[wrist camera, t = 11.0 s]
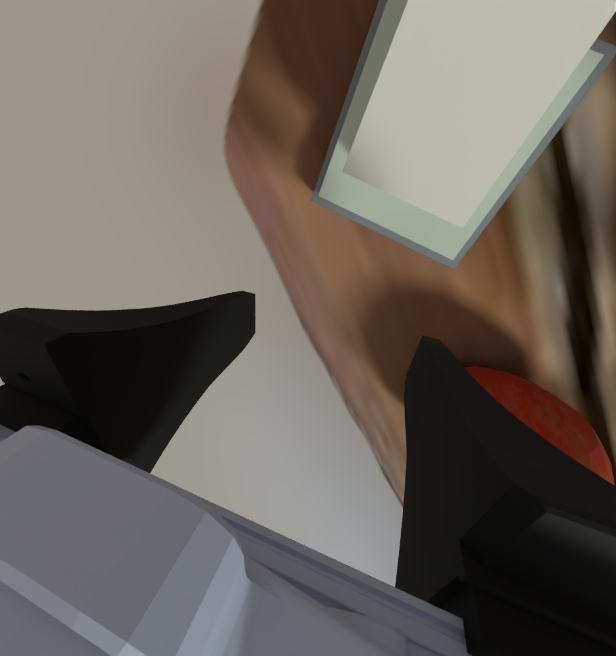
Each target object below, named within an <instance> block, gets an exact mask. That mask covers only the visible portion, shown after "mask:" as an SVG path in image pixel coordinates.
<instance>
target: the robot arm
mask: <svg viewBox="0 0 616 656" xmlns="http://www.w3.org/2000/svg"><path fill="white" fill-rule="evenodd" d="M254 334H255V294H253V293H249V292H245V291H238V292H232V293H227V294H222V295H218V296H213V297H209V298H204V299H200V300H195V301H190V302H185V303H179V304H174V305H168V306H161V307H153V308H143V309H127V310H109V311H108V310H106V311H105V310H104V311H83V310H79V311H77V310H55V309H38V308H37V309H36V308H18V309H13V310H10V311H7V312H4V313H1V314H0V378H1V379H2V381H3V382H4V383H5V384H4V385H2V386H0V656H616V486H615V485H613V484H612V483H610V482H608V481H607V480H605V479H604V478H602V477H601V476H599V475H598V474H596V473H594V472H593V471H591V470H590V469H588V468H587V467H585V466H584V465H582V464H581V463H579V462H577V461H576V460H574V459H573V458H571V457H570V456H569V455H567V454H566V453H564V452H563V451H561V450H560V449H558V448H557V447H555V446H554V445H553V444H551V443H550V442H549V441H547V440H546V439H545V438H543V437H542V436H540V435H539V434H538V433H536V432H535V431H534V430H532V429H531V428H530V427H528V426H527V425H526V424H525V423H523V422H522V421H521V420H519V419H518V418H517V417H516V416H515V415H513V414H512V413H511V412H510V411H509V410H507V409H506V408H505V407H504V406H503V405H502V404H500V403H499V402H498V401H497V400H496V399H495V398H494V397H493V396H492V395H490V394H489V393H488V392H487V391H486V390H485V389H484V388H483V387H482V386H481V385H480V384H479V383H478V382H477V381H476V380H475V379H474V378H473V377H472V375H471V374H470V373H469V372H468V371H467V370H466V369H465V368H464V367H463V366H462V365H461V363H460V362H459V361H458V360H457V359H456V358H455V357H454V355H453V354H452V353H451V352H450V351H449V350H448V349H447V347H446V346H445V345H444V344H443V343H442V342H441V341H440V340H438V339H434V338H430V337H426V336H422V338H421V341H420V343H419V345H418V348H417V350H416V353H415V355H414V358H413V360H412V363H411V365H410V367H409V370H408V372H407V375H406V382H405V392H404V407H405V427H406V446H407V462H406V478H405V493H404V506H403V518H402V528H401V539H400V550H399V558H398V567H397V576H396V584H395V587H393V586H391V585H389V584H386V583H384V582H382V581H380V580H378V579H376V578H373V577H371V576H369V575H367V574H365V573H362V572H360V571H358V570H356V569H354V568H352V567H350V566H348V565H345V564H343V563H341V562H339V561H337V560H335V559H332V558H330V557H328V556H326V555H324V554H322V553H319V552H317V551H315V550H313V549H311V548H309V547H307V546H305V545H302V544H300V543H298V542H296V541H294V540H292V539H289V538H287V537H285V536H283V535H281V534H279V533H277V532H274V531H272V530H270V529H268V528H266V527H264V526H261V525H259V524H257V523H255V522H253V521H251V520H249V519H246V518H244V517H242V516H240V515H238V514H236V513H233V512H231V511H229V510H227V509H225V508H223V507H221V506H218V505H216V504H214V503H212V502H210V501H208V500H205V499H203V498H201V497H199V496H197V495H195V494H193V493H190V492H188V491H186V490H184V489H182V488H180V487H178V486H176V485H174V484H171V483H169V482H167V481H165V480H163V479H161V478H158V477H156V476H154V475H152V474H150V472H151V471H152V469H153V467H154V466H155V464H156V462H157V461H158V459H159V458H160V456H161V454H162V452H163V451H164V449H165V448H166V446H167V445H168V443H169V442H170V440H171V438H172V437H173V436H174V434H175V433H176V431H177V429H178V428H179V426H180V425H181V424H182V422H183V420H184V419H185V418H186V416H187V415H188V414H189V412H190V411H191V409H192V408H193V407H194V405H195V404H196V403H197V401H198V400H199V399H200V397H201V396H202V395H203V393H204V392H205V391H206V389H207V388H208V387H209V386H210V385H211V384H212V382H213V381H214V380H215V379H216V378H217V377H218V376H219V375H220V374H221V373H222V372H223V371H224V370H225V369H226V368H227V366H229V364H230V363H231V362H232V361H233V360H234V359H235V358H236V357H237V356H238V355H239V354H240V353H241V352H242V351H243V349H244V348H245V347H246V345H247V344H248V343H249V341H250V340H251V338H252V337H253V335H254Z"/></svg>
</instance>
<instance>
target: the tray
mask: <svg viewBox="0 0 616 656" xmlns="http://www.w3.org/2000/svg"><path fill="white" fill-rule="evenodd" d="M407 2H408V0H379V2H378V5H377V8H376V11H375V14H374V17H373V19H372V22H371V25H370V28H369V31H368V34H367V37H366V40H365V43H364V46H363V49H362V52H361V55H360V57H359V60H358V63H357V66H356V69H355V72H354V75H353V78H352V81H351V84H350V87H349V90H348V93H347V96H346V98H345V101H344V104H343V107H342V110H341V113H340V116H339V119H338V122H337V125H336V128H335V131H334V134H333V136H332V139H331V142H330V145H329V148H328V151H327V154H326V157H325V160H324V163H323V166H322V169H321V172H320V174H319V177H318V180H317V183H316V186H315V189H314V192H313V195H312V198H311V201H313V202H315V203H317V204H320V205H322V206H324V207H326V208H328V209H330V210H332V211H334V212H336V213H338V214H340V215H342V216H344V217H347V218H349V219H351V220H353V221H355V222H357V223H359V224H361V225H363V226H365V227H367V228H369V229H372V230H374V231H376V232H378V233H380V234H382V235H384V236H386V237H388V238H390V239H392V240H394V241H396V242H399V243H401V244H403V245H405V246H407V247H409V248H411V249H413V250H415V251H417V252H419V253H421V254H423V255H426V256H428V257H430V258H432V259H434V260H436V261H438V262H440V263H442V264H444V265H446V266H448V267H450V268H453V269H454V268H455V267H456V266H457V264H458V263H459V262H460V260H461V259H462V258H463V256H464V255H465V254H466V252H467V251H468V250H469V248H470V247H471V246H472V244H473V243H474V242H475V241H476V239H477V238H478V237H479V235H480V234H481V233H482V231H483V230H484V229H485V227H486V226H487V225H488V223H489V222H490V221H491V219H492V218H493V217H494V215H495V214H496V213H497V211H498V210H499V209H500V207H501V206H502V205H503V203H504V202H505V201H506V199H507V198H508V197H509V196H510V194H511V193H512V192H513V190H514V189H515V188H516V186H517V185H518V184H519V182H520V181H521V180H522V178H523V177H524V176H525V174H526V173H527V172H528V170H529V169H530V168H531V166H532V165H533V164H534V162H535V161H536V160H537V158H538V157H539V156H540V154H541V153H542V152H543V151H544V149H545V148H546V147H547V145H548V144H549V143H550V141H551V140H552V139H553V137H554V136H555V135H556V133H557V132H558V131H559V129H560V128H561V127H562V125H563V124H564V123H565V121H566V120H567V119H568V117H569V116H570V115H571V113H572V112H573V111H574V110H575V108H576V107H577V106H578V104H579V103H580V102H581V100H582V99H583V98H584V96H585V95H586V94H587V92H588V91H589V90H590V88H591V87H592V86H593V84H594V83H595V82H596V80H597V79H598V78H599V76H600V75H601V74H602V72H603V71H604V70H605V68H606V67H607V66H608V65H609V63H610V62H611V61H612V59H613V58H614V57H615V55H616V46H614V45H612V44H609V43H607V42H604V41H601V40H599V39H596V40H595V42H594V43H593V44H592V46H591V47H590V49H589V50H588V51H587V53H586V54H585V56H584V57H583V58H582V60H581V61H580V63H579V64H578V66H577V67H576V68H575V70H574V71H573V73H572V74H571V75H570V77H569V78H568V80H567V81H566V83H565V84H564V85H563V87H562V88H561V90H560V91H559V92H558V94H557V95H556V97H555V98H554V100H553V101H552V102H551V104H550V105H549V107H548V108H547V109H546V111H545V112H544V114H543V115H542V117H541V118H540V119H539V121H538V122H537V124H536V125H535V126H534V128H533V129H532V131H531V132H530V134H529V135H528V136H527V138H526V139H525V141H524V142H523V143H522V145H521V146H520V148H519V149H518V151H517V152H516V153H515V155H514V156H513V158H512V159H511V160H510V162H509V163H508V165H507V166H506V168H505V169H504V170H503V172H502V173H501V175H500V176H499V177H498V179H497V180H496V182H495V183H494V184H493V186H492V187H491V189H490V190H489V192H488V193H487V194H486V196H485V197H484V199H483V200H482V201H481V203H480V204H479V206H478V207H477V209H476V210H475V211H474V213H473V214H472V216H471V217H470V218H469V220H468V221H467V223H466V224H465V226H464V227H463V228H461V227H459V226H457V225H455V224H452V223H450V222H448V221H446V220H444V219H442V218H440V217H437V216H435V215H433V214H431V213H429V212H427V211H425V210H423V209H420V208H418V207H416V206H414V205H412V204H410V203H408V202H405V201H403V200H401V199H399V198H397V197H395V196H393V195H390V194H388V193H386V192H384V191H382V190H380V189H378V188H375V187H373V186H371V185H369V184H367V183H365V182H363V181H360V180H358V179H356V178H354V177H352V176H350V175H348V174H346V173H343V172H342V171H343V168H344V165H345V163H346V160H347V158H348V155H349V152H350V150H351V147H352V145H353V142H354V139H355V137H356V134H357V132H358V129H359V126H360V124H361V121H362V119H363V116H364V113H365V111H366V108H367V106H368V103H369V100H370V98H371V95H372V93H373V90H374V87H375V85H376V82H377V80H378V77H379V74H380V72H381V69H382V67H383V64H384V62H385V59H386V56H387V54H388V51H389V49H390V46H391V43H392V41H393V38H394V36H395V33H396V30H397V28H398V25H399V23H400V20H401V17H402V15H403V12H404V10H405V7H406V4H407Z"/></svg>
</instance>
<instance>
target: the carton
mask: <svg viewBox="0 0 616 656" xmlns="http://www.w3.org/2000/svg"><path fill="white" fill-rule="evenodd" d="M615 12H616V0H408V2H407V4H406V7H405V10H404V12H403V15H402V17H401V20H400V23H399V25H398V28H397V30H396V33H395V36H394V38H393V41H392V43H391V46H390V49H389V51H388V54H387V56H386V59H385V62H384V64H383V67H382V69H381V72H380V74H379V77H378V80H377V82H376V85H375V87H374V90H373V93H372V95H371V98H370V100H369V103H368V106H367V108H366V111H365V113H364V116H363V119H362V121H361V124H360V126H359V129H358V132H357V134H356V137H355V139H354V142H353V145H352V147H351V150H350V152H349V155H348V158H347V160H346V163H345V165H344V168H343V171H342V172H343V173H346V174H348V175H350V176H352V177H354V178H356V179H358V180H360V181H363V182H365V183H367V184H369V185H371V186H373V187H375V188H378V189H380V190H382V191H384V192H386V193H388V194H390V195H393V196H395V197H397V198H399V199H401V200H403V201H405V202H408V203H410V204H412V205H414V206H416V207H418V208H420V209H423V210H425V211H427V212H429V213H431V214H433V215H435V216H437V217H440V218H442V219H444V220H446V221H448V222H450V223H452V224H455V225H457V226H459V227H461V228H463V227H464V226H465V224H466V223H467V221H468V220H469V218H470V217H471V216H472V214H473V213H474V211H475V210H476V209H477V207H478V206H479V204H480V203H481V201H482V200H483V199H484V197H485V196H486V194H487V193H488V192H489V190H490V189H491V187H492V186H493V184H494V183H495V182H496V180H497V179H498V177H499V176H500V175H501V173H502V172H503V170H504V169H505V168H506V166H507V165H508V163H509V162H510V160H511V159H512V158H513V156H514V155H515V153H516V152H517V151H518V149H519V148H520V146H521V145H522V143H523V142H524V141H525V139H526V138H527V136H528V135H529V134H530V132H531V131H532V129H533V128H534V126H535V125H536V124H537V122H538V121H539V119H540V118H541V117H542V115H543V114H544V112H545V111H546V109H547V108H548V107H549V105H550V104H551V102H552V101H553V100H554V98H555V97H556V95H557V94H558V92H559V91H560V90H561V88H562V87H563V85H564V84H565V83H566V81H567V80H568V78H569V77H570V75H571V74H572V73H573V71H574V70H575V68H576V67H577V66H578V64H579V63H580V61H581V60H582V58H583V57H584V56H585V54H586V53H587V51H588V50H589V49H590V47H591V46H592V44H593V43H594V42H595V40H596V39H597V37H598V36H599V34H600V33H601V32H602V30H603V29H604V27H605V26H606V25H607V23H608V22H609V20H610V19H611V17H612V16H613V15H614V13H615Z"/></svg>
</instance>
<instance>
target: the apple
mask: <svg viewBox="0 0 616 656" xmlns="http://www.w3.org/2000/svg"><path fill="white" fill-rule="evenodd" d="M465 369H466V370H467V371H468V372H469V373H470V374H471V375H472V377H473V378H474V379H475V380H476V381H477V382H478V383H479V384H480V385H481V386H482V387H483V388H484V389H485V390H486V391H487V392H488V393H489V394H490V395H492V396H493V397H494V398H495V399H496V400H497V401H498V402H499V403H500V404H502V405H503V406H504V407H505V408H506V409H507V410H509V411H510V412H511V413H512V414H513V415H515V416H516V417H517V418H518V419H519V420H521V421H522V422H523V423H525V424H526V425H527V426H528V427H530V428H531V429H532V430H534V431H535V432H536V433H538V434H539V435H540V436H542V437H543V438H545V439H546V440H547V441H549V442H550V443H551V444H553V445H554V446H555V447H557V448H558V449H560V450H561V451H563V452H564V453H566V454H567V455H569V456H570V457H571V458H573V459H574V460H576V461H577V462H579V463H581V464H582V465H584V466H585V467H587V468H588V469H590V470H591V471H593V472H594V473H596V474H598V475H599V476H601V477H602V478H604V479H605V480H607V481H608V482H610V483H612V484H613V485H614V478H613V473H612V467H611V462H610V460H609V458H608V456H607V454H606V452H605V450H604V447H603V445H602V443H601V442H600V440H599V438H598V436H597V435H596V433H595V431H594V430H593V428H592V427H591V425H590V424H589V423H588V422H587V421H586V420H585V418H584V417H583V416H582V415H581V414H580V413H579V412H577V411H576V410H574V409H573V408H571V407H570V406H569V405H567V404H566V403H564V402H563V401H561V400H560V399H558V398H557V397H555V396H554V395H552V394H551V393H549V392H548V391H546V390H544V389H543V388H541V387H539V386H538V385H536V384H534V383H533V382H531V381H528V380H526V379H524V378H521V377H519V376H516V375H514V374H511V373H509V372H506V371H502V370H496V369H491V368H485V367H479V366H471V367H465Z"/></svg>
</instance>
